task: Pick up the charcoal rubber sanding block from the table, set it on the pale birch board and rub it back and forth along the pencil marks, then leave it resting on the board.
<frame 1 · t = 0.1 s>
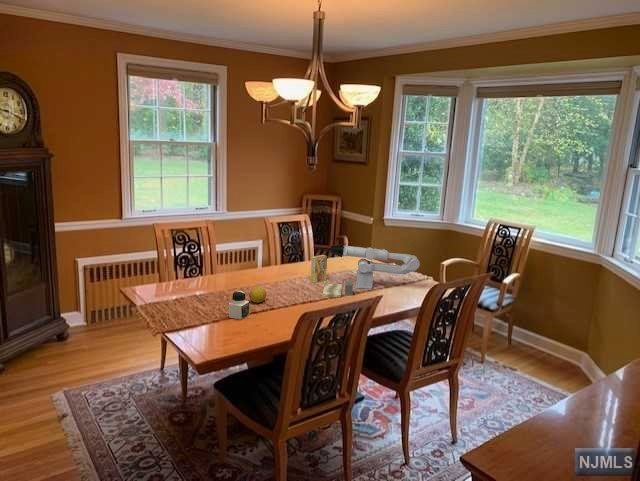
hand: (330, 249, 278), 22 cm above the table, tool horizontal, fingers open, 7 cm apart
medicine bottle: (239, 316, 232), on the table
fruit: (257, 302, 252), on the table
board: (332, 291, 272), on the table
candy box: (318, 281, 290), on the table
sanding block: (348, 293, 269), on the table
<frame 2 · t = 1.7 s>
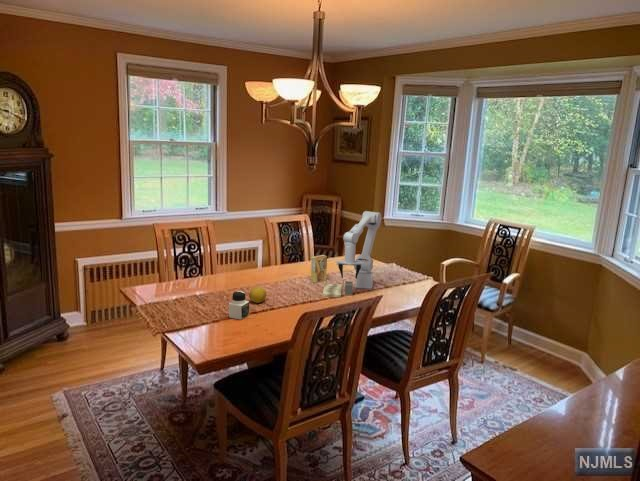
hand: (349, 278, 267), 9 cm above the table, tool pointing down, fingers open, 7 cm apart
nothing on the table moved.
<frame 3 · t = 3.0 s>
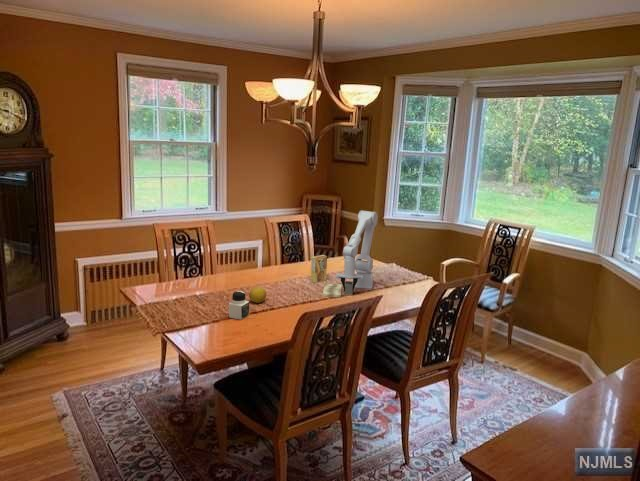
hand: (348, 291, 269), 1 cm above the table, tool pointing down, fingers closed on sanding block, 4 cm apart
sanding block: (348, 293, 269), on the table, touching gripper
everything else where it was.
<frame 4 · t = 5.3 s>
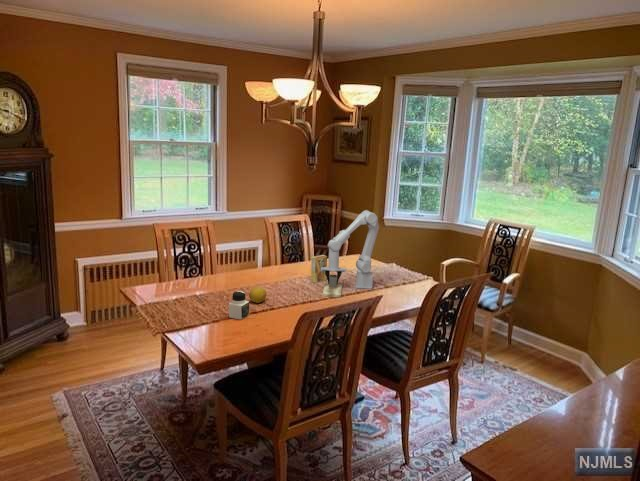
hand: (333, 283, 277), 3 cm above the table, tool pointing down, fingers closed on sanding block, 4 cm apart
sanding block: (332, 286, 277), point 1 cm above the table, touching gripper
everything else where it was.
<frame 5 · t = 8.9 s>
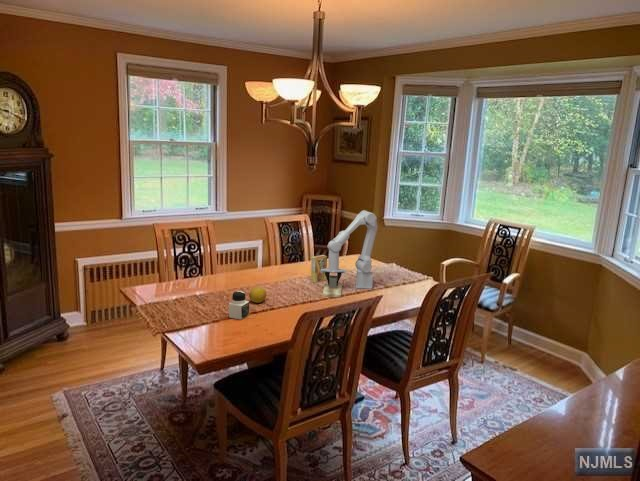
hand: (332, 285, 275), 2 cm above the table, tool pointing down, fingers closed on sanding block, 4 cm apart
sanding block: (332, 287, 275), point 1 cm above the table, touching gripper
everything else where it was.
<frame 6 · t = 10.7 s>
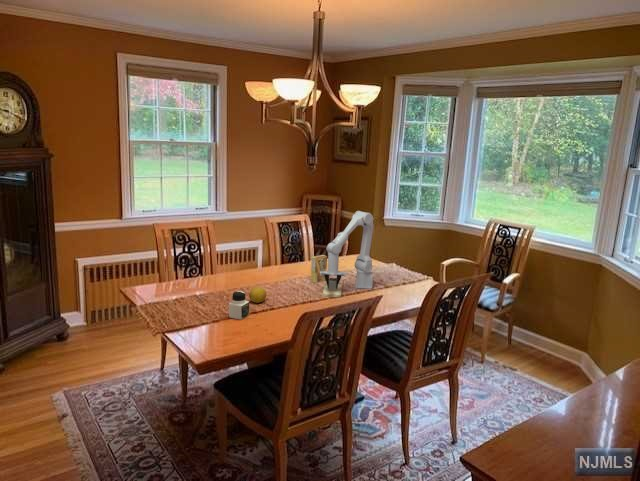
hand: (332, 288, 270), 3 cm above the table, tool pointing down, fingers closed on sanding block, 4 cm apart
sanding block: (332, 290, 270), point 1 cm above the table, touching gripper
everything else where it was.
when the fingers open (3 cm above the table, at t = 12.3 s): sanding block stays where it is, resting on board.
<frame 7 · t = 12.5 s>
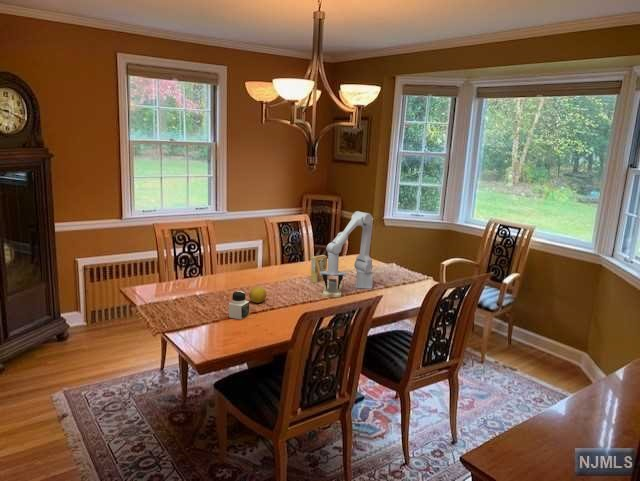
hand: (332, 288, 268), 3 cm above the table, tool pointing down, fingers open, 6 cm apart
sanding block: (332, 291, 268), point 1 cm above the table, touching board
everything else where it was.
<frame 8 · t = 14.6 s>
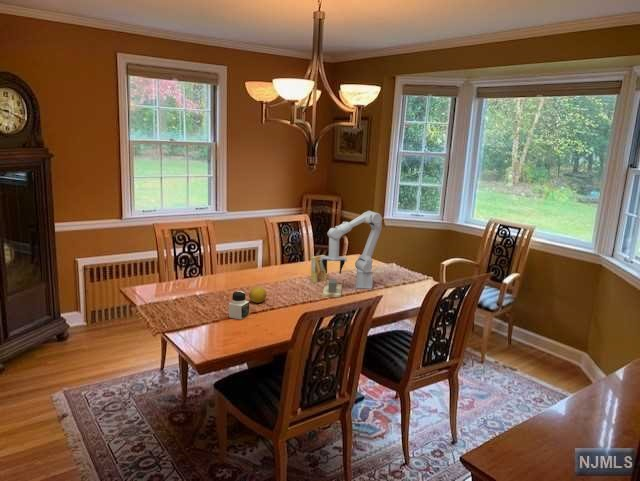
hand: (333, 273, 272), 10 cm above the table, tool pointing down, fingers open, 7 cm apart
nothing on the table moved.
at the end: sanding block inside the target area on the board (0.1 cm from its centre), point 1.2 cm above the board's base; sanding block touching board; the gripper is holding nothing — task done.
